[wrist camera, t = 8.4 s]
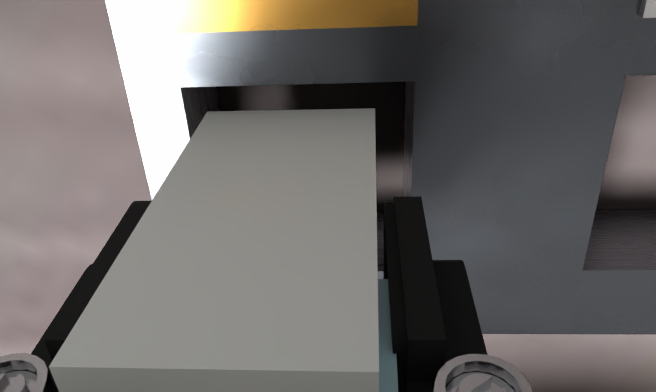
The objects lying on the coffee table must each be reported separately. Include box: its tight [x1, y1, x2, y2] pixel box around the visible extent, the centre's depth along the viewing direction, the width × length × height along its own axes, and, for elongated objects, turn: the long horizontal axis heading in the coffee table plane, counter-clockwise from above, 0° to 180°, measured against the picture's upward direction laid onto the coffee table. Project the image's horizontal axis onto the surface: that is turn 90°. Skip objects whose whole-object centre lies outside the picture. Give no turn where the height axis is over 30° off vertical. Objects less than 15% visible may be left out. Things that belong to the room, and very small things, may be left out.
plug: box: [49, 108, 398, 392], centre depth 11 cm, size 4×4×8 cm
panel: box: [105, 0, 656, 334], centre depth 16 cm, size 18×10×3 cm, turn 93°
